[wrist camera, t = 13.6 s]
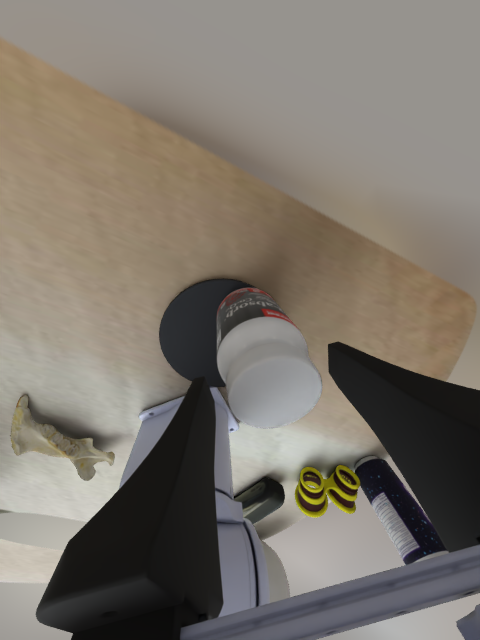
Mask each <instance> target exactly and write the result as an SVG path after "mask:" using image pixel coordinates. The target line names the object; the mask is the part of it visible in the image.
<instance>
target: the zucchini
mask: <svg viewBox="0 0 480 640" xmlns="http://www.w3.org/2000/svg"><path fill="white" fill-rule="evenodd" d="M284 499H285V494H284V489H283V486H282V485H281V484H279V483H277V482H275V481H273V480H271V479H269V478H263V479H262V480H261V481H260V482H259V483H257V484H256V485H255V486H253V487H252V488H250V489H248V490H247V491H245V492H244V493H242V494H241V495H240V496H238V497H236V498H234V501H237V502H241V503H242V511H243V518H246V519H248V520H249V521H250V522H251V523H252V524H254V523H256V522H258V521H260V520H261V519H263V518H264V517H266V516H267V515H269V514H271V513H272V512H274V511H275V510H277V509H278V508H280V507H281V506H282V505H283V503H284Z"/></svg>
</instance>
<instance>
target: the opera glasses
mask: <svg viewBox="0 0 480 640" xmlns="http://www.w3.org/2000/svg"><path fill="white" fill-rule="evenodd" d="M307 485H312V486H314V487H316V488H311V487H309V486H307ZM359 486H360V480H359V478H358V477H357V475H356V474H355V473H354V472H353V471H352V470H350V469H349V468H348V467H346V466H343V465H339V466H337V468H336V471H335V472H334V473H332V474H331V476H330V478H327V479H323V477H322V475H321V473H320V472H319V471H318V470H316V469H314V468H312V467H305V468H303V469H302V471H301V473H300V480H299V483H298V485H297V487H296V490H295V500H296V503H297V505H298V507H299V509H300V510H301V511H302V512H303V513H304V514H306V515H307V516H310V517H320V516H322V515H323V514H324V513H325V512H326V510H327V507H328V499H327V495H328V496H329V498H330V499H331V501H332V502H333V503H334V504H335V505H336V506H337V507H338V508H340V509H341V510H342V511H344V512H346V513H349V514H351V513H354V512H355V510H356V506H355V502H354V501H355V500H356V498H357V491H358V488H359ZM326 493H327V495H326Z"/></svg>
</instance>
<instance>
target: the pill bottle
mask: <svg viewBox="0 0 480 640" xmlns="http://www.w3.org/2000/svg"><path fill="white" fill-rule="evenodd" d="M217 365H218V370H219V373H220V375H221V377H222V379H223V381H224V382H225V383H226V390H227V397H228V404H229V407H230V410H231V412H232V414H233V415H234V416H235V417H236V418H237V419H238V420H239V421H241V422H242V423H244V424H246V425H249V426H252V427H256V428H277V427H282V426H285V425H288V424H291V423H293V422H295V421H297V420H299V419H300V418H302V417H304V416H305V415H306V414H307V413H309V412H310V411H311V410H312V408H313V407H314V406H315V405H316V403H317V402H318V400H319V398H320V395H321V392H322V380H321V376H320V374H319V372H318V370H317V369H316V367H315V366H314V364H313V363H312V361H311V360H310V358H309V357H308V347H307V344H306V341H305V339H304V337H303V335H302V334H301V332H300V331H299V329H298V328H297V327H296V326H295V324H294V323H293V322H292V321H291V320H290V319H289V317H288V316H287V315H286V314H285V313H284V312H283V310H282V309H281V308H280V307H279V305H278V304H277V303H276V302H275V301H274V299H273V298H272V297H271V296H270V295H269V294H267V293H266V292H264V291H262V290H260V289H256V288H242V289H238V290H236V291H234V292H232V293H230V294H229V295H228V296H227V297H226V298H225V299H224V300H223V301H222V303H221V304H220V306H219V308H218V312H217Z"/></svg>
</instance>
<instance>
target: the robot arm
mask: <svg viewBox="0 0 480 640" xmlns="http://www.w3.org/2000/svg"><path fill="white" fill-rule="evenodd" d="M328 365H329V373H330V375H331V377H332V378H333V380H334V381H335V383H336V384H337V386H338V388H339V389H340V390H341V391H342V393H343V394H344V395H345V396H346V398H347V399H348V400H349V401H350V402H351V404H352V405H353V406H354V407H355V409H356V410H357V411H358V412H359V413H360V415H361V416H362V417H363V418H364V420H365V421H366V422H367V423H368V425H369V426H370V427H371V429H372V430H373V431H374V433H375V434H376V436H377V437H378V439H379V440H380V441H381V443H382V444H383V446H384V447H385V449H386V450H387V452H388V453H389V455H390V456H391V458H392V460H393V461H394V462H395V464H396V466H397V467H398V469H399V470H400V472H401V473H402V475H403V477H404V478H405V480H406V482H407V483H408V484H409V486H410V488H411V489H412V491H413V493H414V494H415V496H416V498H417V499H418V501H419V503H420V504H421V506H422V508H423V509H424V511H425V513H426V515H427V516H428V518H429V520H430V521H431V523H432V525H433V527H434V528H435V530H436V532H437V534H438V535H439V537H440V539H441V541H442V542H443V544H444V546H445V548H446V549H447V551H448V552H449V553H448V554H444V555H441V556H437V557H433V558H430V559H426V560H423V561H419V562H416V563H412V564H408V565H405V566H401V567H398V568H394V569H390V570H387V571H383V572H380V573H376V574H373V575H369V576H365V577H362V578H358V579H355V580H351V581H347V582H344V583H340V584H337V585H334V586H330V587H326V588H323V589H319V590H315V591H312V592H308V593H304V594H301V595H298V596H294V597H290V598H287V599H283V600H279V601H276V602H272V603H270V591H269V578H268V570H267V564H266V558H265V554H264V550H263V547H262V544H261V541H260V539H259V537H258V534H257V532H256V530H255V528H254V526H253V524H252V523H251V522H250V521H249V520H248V519H246V518H243V511H242V503H241V502H237V501H234V497H233V483H232V469H231V456H230V442H229V433H231V432H234V431H237V430H238V429H239V424H238V423H237V421H236V419H235V417H234V416H233V414H232V412H231V411H230V409H229V407H228V405H227V404H226V402H225V400H224V398H223V397H222V395H221V393H220V392H219V390H218V388H217V387H213V386H209V385H208V383H207V380H206V378H205V376H202V377H198V378H194V380H193V381H192V383H191V385H190V387H189V389H188V391H187V393H186V395H185V396H183V397H180V398H177V399H175V400H172V401H169V402H167V403H164V404H161V405H159V406H156V407H153V408H151V409H148V410H145V411H143V412H141V413H140V414H139V418H140V419H141V421H142V424H141V427H140V430H139V432H138V435H137V438H136V440H135V443H134V446H133V449H132V451H131V454H130V457H129V459H128V462H127V465H126V467H125V470H124V473H123V475H122V479H121V483H120V488H119V490H118V491H117V492H116V493H115V494H114V496H113V497H112V498H111V499H110V500H109V501H108V502H107V503H106V504H105V505H104V506H103V507H102V508H101V509H100V510H99V511H98V512H97V514H96V515H95V516H94V517H93V518H92V519H91V520H90V521H89V522H88V523H87V524H86V525H85V526H84V527H83V528H82V529H81V530H80V531H79V532H78V533H77V534H76V535H75V536H74V537H73V538H72V539H71V540H70V541H69V542H68V544H67V546H66V548H65V550H64V552H63V554H62V556H61V559H60V561H59V563H58V565H57V567H56V569H55V571H54V573H53V576H52V578H51V580H50V582H49V584H48V587H47V588H46V591H45V593H44V595H43V597H42V599H41V601H40V603H39V605H38V608H37V611H36V617H37V619H38V621H39V622H40V623H43V624H45V625H47V626H50V627H54V628H57V629H60V630H64V631H67V632H71V633H73V636H72V638H71V640H316V639H319V638H323V637H326V636H330V635H333V634H336V633H340V632H344V631H347V630H351V629H354V628H358V627H362V626H365V625H369V624H372V623H376V622H379V621H382V620H386V619H390V618H393V617H397V616H400V615H404V614H407V613H410V612H414V611H418V610H421V609H425V608H428V607H432V606H436V605H439V604H443V603H446V602H449V601H453V600H457V599H460V598H463V597H467V596H471V595H474V594H478V593H480V390H476V389H472V388H467V387H463V386H459V385H456V384H452V383H448V382H444V381H441V380H437V379H434V378H431V377H428V376H424V375H421V374H418V373H415V372H412V371H409V370H406V369H403V368H401V367H398V366H396V365H393V364H390V363H388V362H385V361H383V360H380V359H378V358H375V357H373V356H371V355H368V354H366V353H364V352H362V351H359V350H357V349H355V348H353V347H350V346H348V345H346V344H343V343H341V342H335V343H331V344H328ZM457 627H458V629H459V630H460V632H461V633H462V635H463V637H464V639H465V640H480V604H479V605H477V606H476V607H475V610H474V611H472V612H471V613H470V614H468V615H467V616H465V617H463V618H462V619H460V620H458V621H457Z"/></svg>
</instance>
